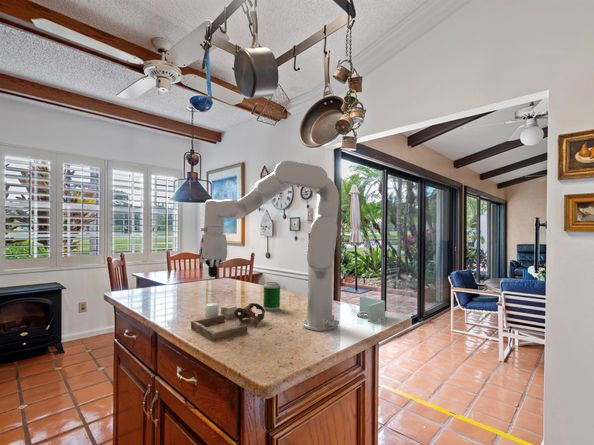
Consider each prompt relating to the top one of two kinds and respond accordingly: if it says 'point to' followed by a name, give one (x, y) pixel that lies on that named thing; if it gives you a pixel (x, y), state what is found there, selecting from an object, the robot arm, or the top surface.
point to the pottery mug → (250, 313)
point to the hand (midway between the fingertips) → (212, 276)
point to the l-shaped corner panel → (371, 308)
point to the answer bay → (214, 336)
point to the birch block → (228, 311)
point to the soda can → (271, 296)
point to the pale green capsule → (212, 310)
